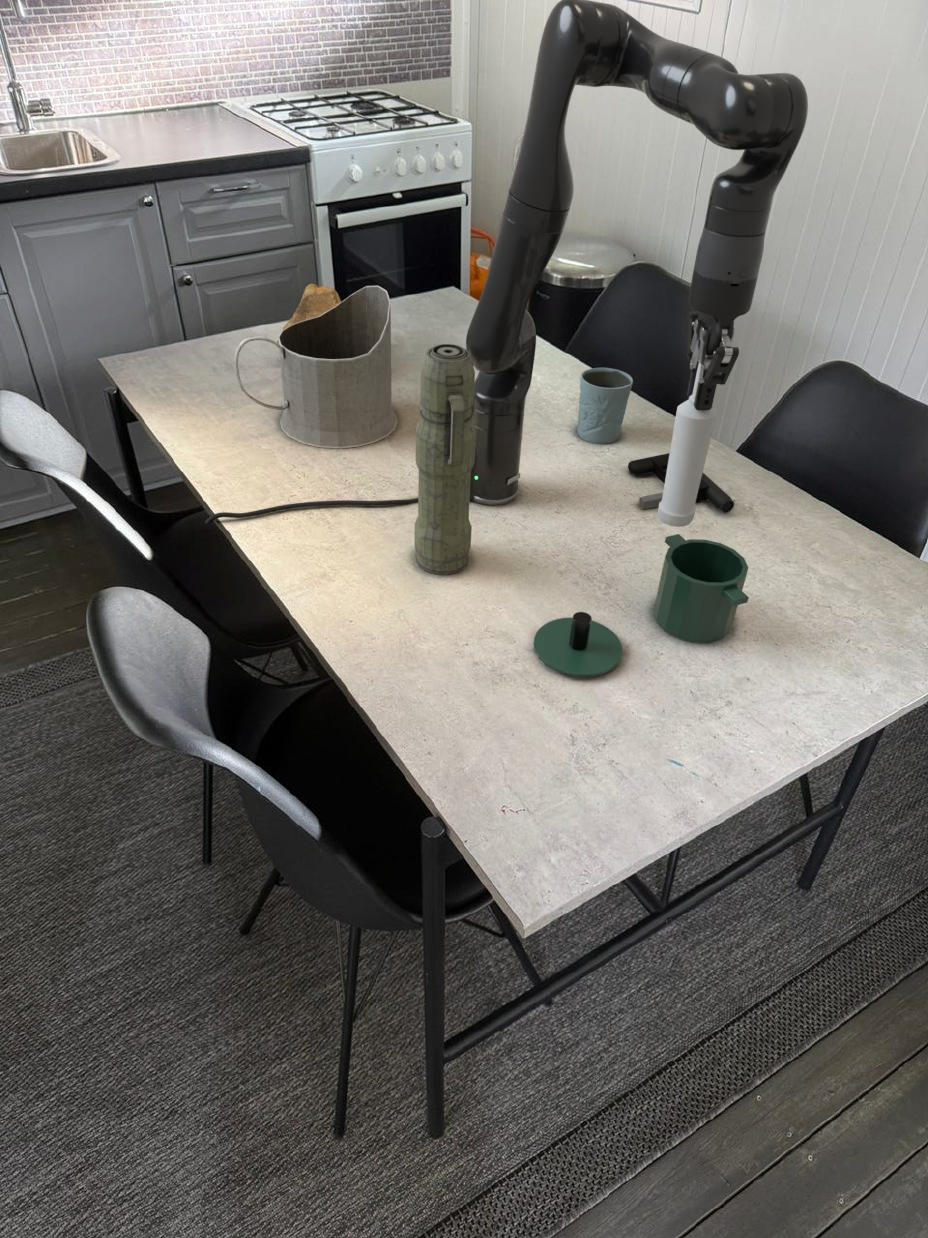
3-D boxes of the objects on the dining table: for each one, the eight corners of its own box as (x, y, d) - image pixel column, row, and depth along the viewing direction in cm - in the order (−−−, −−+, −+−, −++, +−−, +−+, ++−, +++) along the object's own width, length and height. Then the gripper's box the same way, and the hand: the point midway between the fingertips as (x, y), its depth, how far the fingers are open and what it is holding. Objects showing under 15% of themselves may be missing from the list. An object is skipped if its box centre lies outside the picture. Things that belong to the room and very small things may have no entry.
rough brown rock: (270, 351, 211) (258, 288, 201) (338, 337, 216) (331, 274, 206) (297, 396, 195) (286, 329, 185) (370, 379, 200) (363, 314, 190)
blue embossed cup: (567, 438, 181) (574, 381, 174) (581, 418, 189) (588, 362, 181) (616, 449, 179) (625, 392, 171) (629, 428, 186) (638, 372, 179)
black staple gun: (661, 515, 156) (742, 496, 160) (608, 460, 170) (683, 444, 174) (658, 531, 158) (739, 512, 162) (606, 475, 172) (681, 460, 176)
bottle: (697, 513, 131) (734, 344, 115) (688, 531, 127) (725, 359, 111) (662, 504, 132) (694, 337, 117) (652, 521, 129) (684, 350, 113)
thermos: (431, 585, 141) (435, 371, 119) (403, 545, 149) (402, 338, 128) (482, 573, 144) (496, 362, 122) (452, 535, 153) (460, 331, 131)
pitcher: (417, 431, 181) (418, 307, 165) (268, 469, 167) (254, 336, 152) (363, 387, 196) (360, 269, 180) (222, 418, 182) (205, 293, 167)
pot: (693, 662, 129) (708, 604, 123) (629, 595, 141) (640, 538, 135) (758, 643, 133) (777, 585, 127) (691, 579, 145) (704, 523, 139)
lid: (559, 689, 124) (564, 655, 120) (518, 634, 133) (521, 601, 129) (638, 667, 128) (645, 633, 124) (592, 615, 137) (598, 582, 133)
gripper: (680, 249, 113) (657, 381, 124) (712, 287, 102) (684, 428, 113) (739, 250, 114) (711, 381, 125) (777, 288, 103) (743, 427, 114)
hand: (698, 402), depth 119 cm, fingers closed on bottle, 2 cm apart
